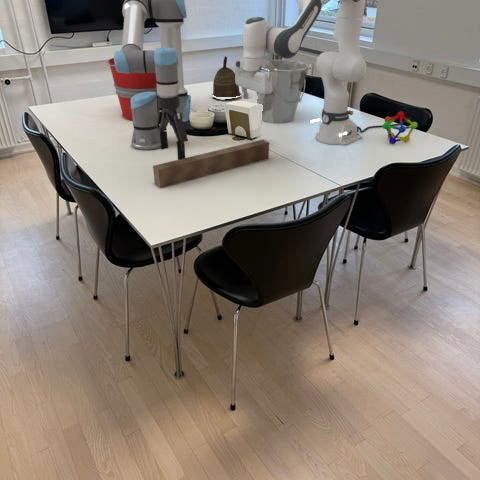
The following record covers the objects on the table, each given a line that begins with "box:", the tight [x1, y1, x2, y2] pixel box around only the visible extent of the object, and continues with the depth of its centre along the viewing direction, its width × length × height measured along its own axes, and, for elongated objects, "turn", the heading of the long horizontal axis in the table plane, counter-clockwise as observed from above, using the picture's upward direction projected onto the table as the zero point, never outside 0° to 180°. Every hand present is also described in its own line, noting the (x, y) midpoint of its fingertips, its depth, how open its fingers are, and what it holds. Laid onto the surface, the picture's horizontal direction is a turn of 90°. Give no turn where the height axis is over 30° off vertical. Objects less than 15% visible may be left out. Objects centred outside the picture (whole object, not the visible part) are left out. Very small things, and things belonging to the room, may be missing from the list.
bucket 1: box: [104, 57, 159, 121], centre depth 240 cm, size 35×35×30 cm
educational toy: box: [382, 110, 418, 145], centre depth 207 cm, size 16×13×15 cm
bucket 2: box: [256, 59, 309, 124], centre depth 236 cm, size 30×30×28 cm
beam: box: [152, 139, 270, 189], centre depth 180 cm, size 52×5×7 cm, turn 125°
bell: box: [212, 56, 242, 97], centre depth 278 cm, size 19×26×20 cm
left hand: (172, 153), depth 166 cm, fingers open, 13 cm apart
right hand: (252, 101), depth 177 cm, fingers open, 8 cm apart
